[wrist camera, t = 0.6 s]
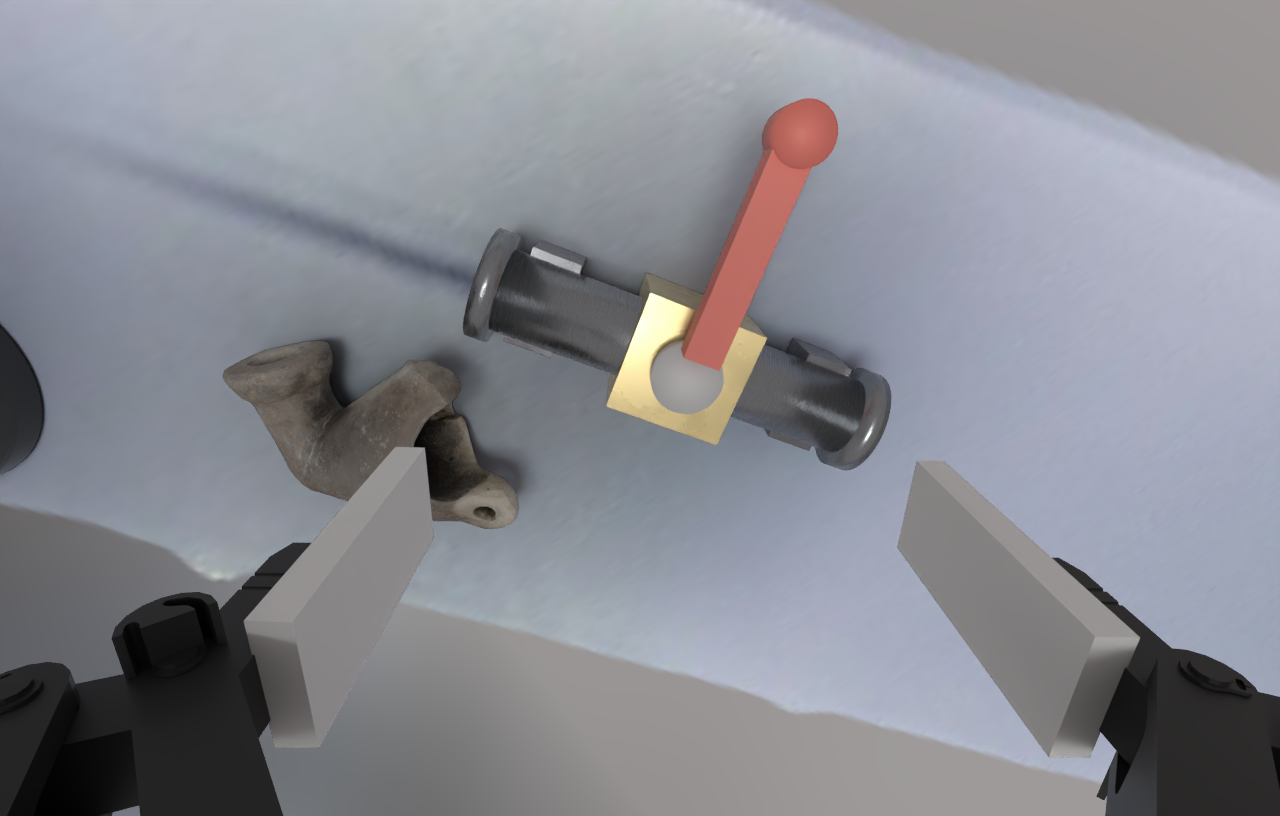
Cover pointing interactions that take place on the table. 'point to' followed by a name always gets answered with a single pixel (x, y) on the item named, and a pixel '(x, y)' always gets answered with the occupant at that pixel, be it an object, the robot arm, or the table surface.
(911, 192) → the table surface
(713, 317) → the lever
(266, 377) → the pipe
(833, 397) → the valve pipe
